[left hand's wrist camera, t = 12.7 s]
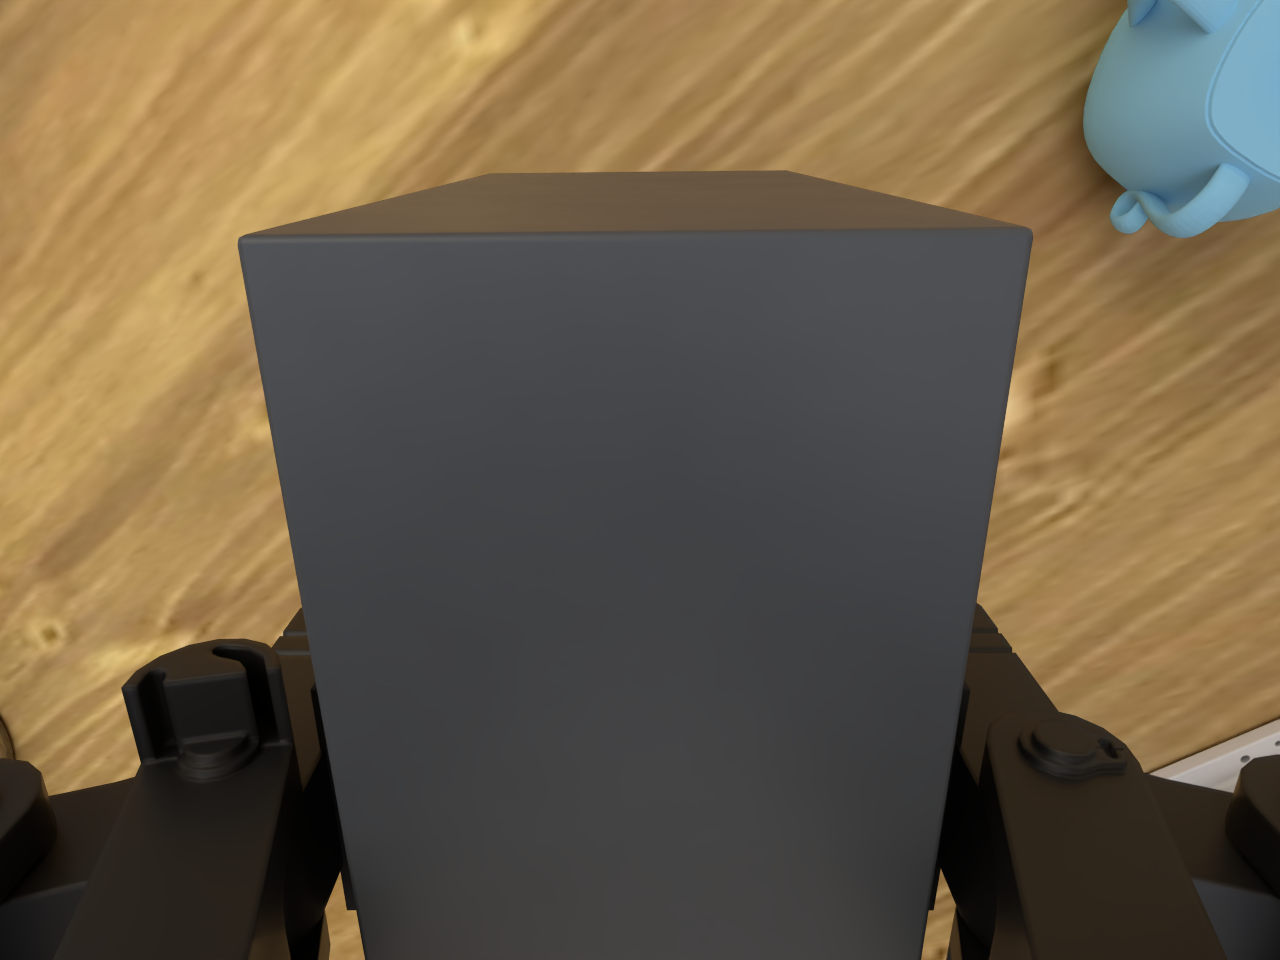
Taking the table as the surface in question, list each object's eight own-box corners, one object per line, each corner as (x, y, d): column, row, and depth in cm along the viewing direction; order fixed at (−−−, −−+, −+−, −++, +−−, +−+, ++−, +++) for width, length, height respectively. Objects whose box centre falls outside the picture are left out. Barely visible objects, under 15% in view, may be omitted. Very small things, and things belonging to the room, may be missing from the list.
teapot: (1050, -31, 41) (1169, -80, 31) (1377, -114, 39) (1622, -196, 29) (1060, 236, 46) (1166, 271, 35) (1352, 174, 44) (1555, 193, 33)
